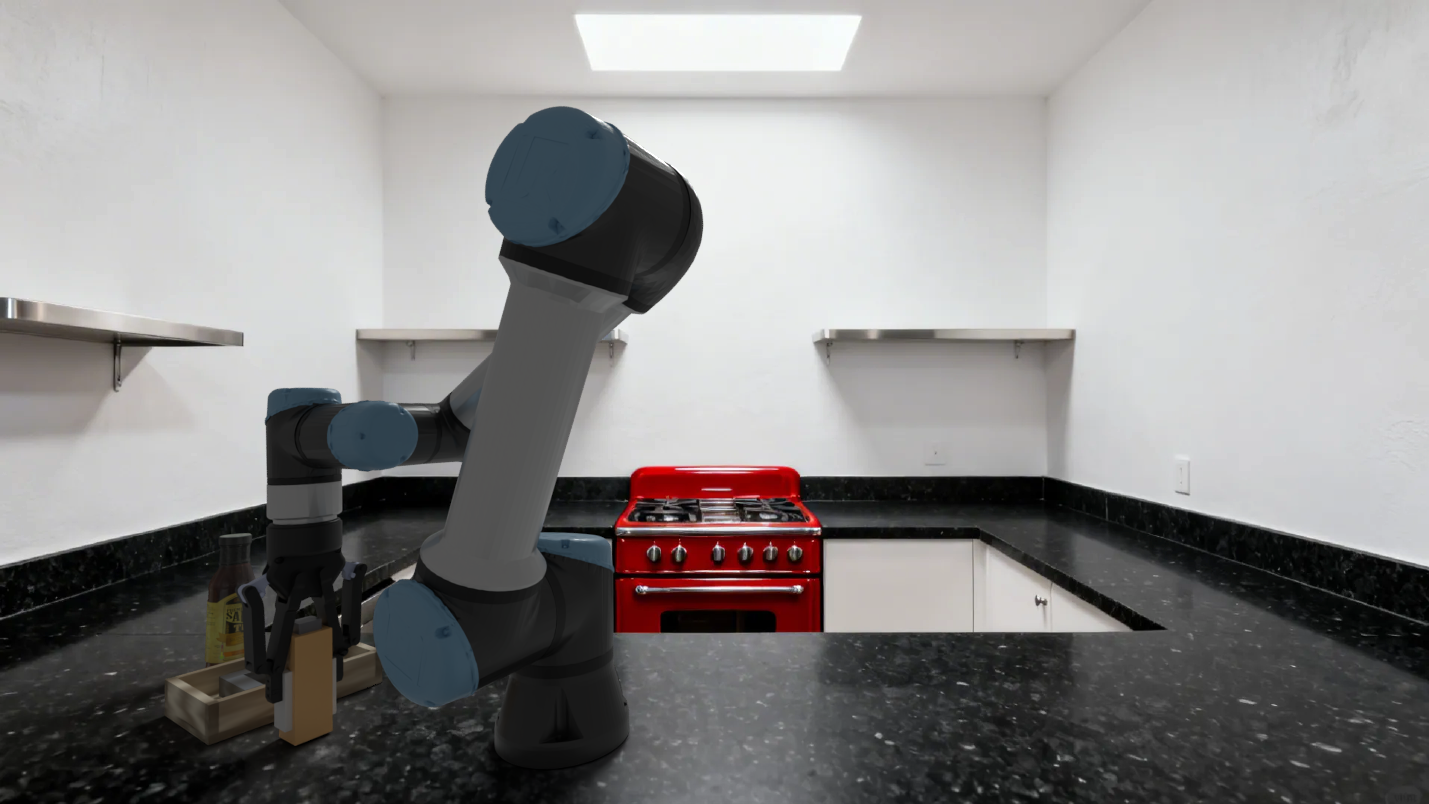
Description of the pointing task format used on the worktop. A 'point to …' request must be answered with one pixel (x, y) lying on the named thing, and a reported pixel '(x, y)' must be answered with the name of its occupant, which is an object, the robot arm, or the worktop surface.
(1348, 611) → the worktop surface
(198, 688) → the walled box
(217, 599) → the sauce bottle
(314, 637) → the tan tall block
